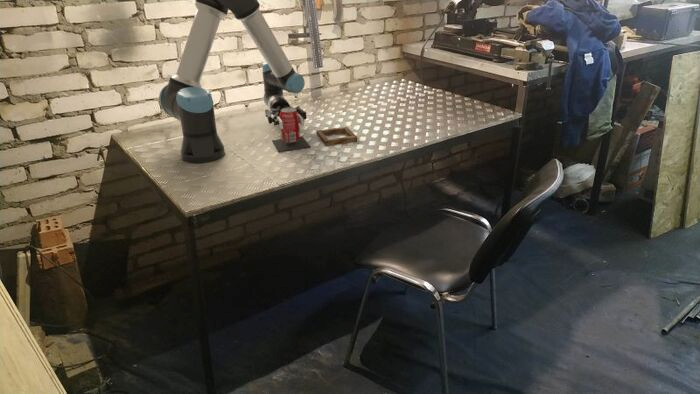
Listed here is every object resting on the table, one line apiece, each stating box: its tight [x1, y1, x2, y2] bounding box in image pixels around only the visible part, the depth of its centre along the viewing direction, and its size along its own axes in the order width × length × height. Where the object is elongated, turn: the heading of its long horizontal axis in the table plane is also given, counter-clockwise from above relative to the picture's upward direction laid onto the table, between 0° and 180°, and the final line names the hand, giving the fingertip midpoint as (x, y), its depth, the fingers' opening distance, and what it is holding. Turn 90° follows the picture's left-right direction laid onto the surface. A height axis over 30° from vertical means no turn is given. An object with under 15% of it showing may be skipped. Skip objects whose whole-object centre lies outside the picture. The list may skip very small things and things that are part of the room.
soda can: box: [279, 106, 301, 143], centre depth 190 cm, size 7×7×12 cm
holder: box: [316, 126, 358, 147], centre depth 198 cm, size 12×12×2 cm
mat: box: [271, 135, 311, 153], centre depth 194 cm, size 12×12×1 cm
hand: (292, 124), depth 185 cm, fingers closed on soda can, 7 cm apart
